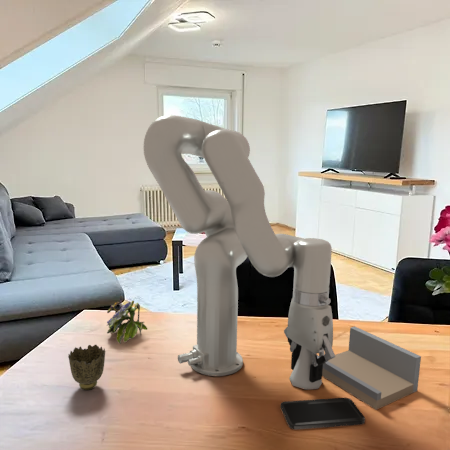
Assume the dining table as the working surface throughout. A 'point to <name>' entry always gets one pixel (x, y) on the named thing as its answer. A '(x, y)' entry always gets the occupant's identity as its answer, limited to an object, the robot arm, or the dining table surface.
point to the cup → (87, 365)
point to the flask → (303, 372)
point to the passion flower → (130, 325)
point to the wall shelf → (374, 369)
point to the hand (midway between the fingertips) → (306, 373)
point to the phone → (321, 413)
